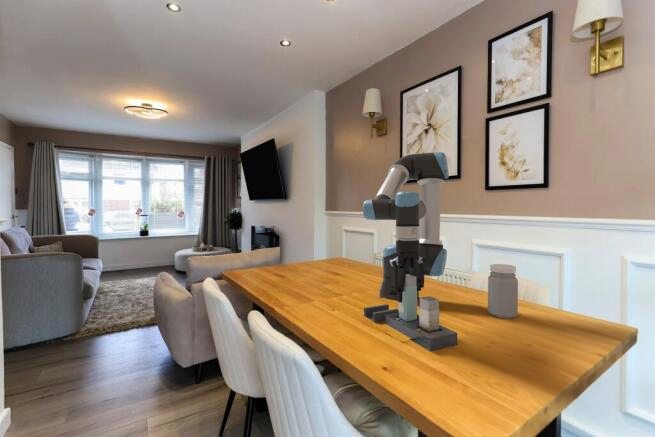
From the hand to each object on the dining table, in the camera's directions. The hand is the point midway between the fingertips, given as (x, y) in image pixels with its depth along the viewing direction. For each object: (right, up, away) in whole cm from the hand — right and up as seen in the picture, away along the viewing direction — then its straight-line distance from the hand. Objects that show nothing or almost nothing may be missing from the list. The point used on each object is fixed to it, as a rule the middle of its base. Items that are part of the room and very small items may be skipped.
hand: (407, 310), depth 104 cm
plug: (0, -3, 0) cm, 3 cm away
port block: (+2, -6, -4) cm, 8 cm away
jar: (+38, -5, +13) cm, 40 cm away
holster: (-7, -6, +10) cm, 14 cm away
